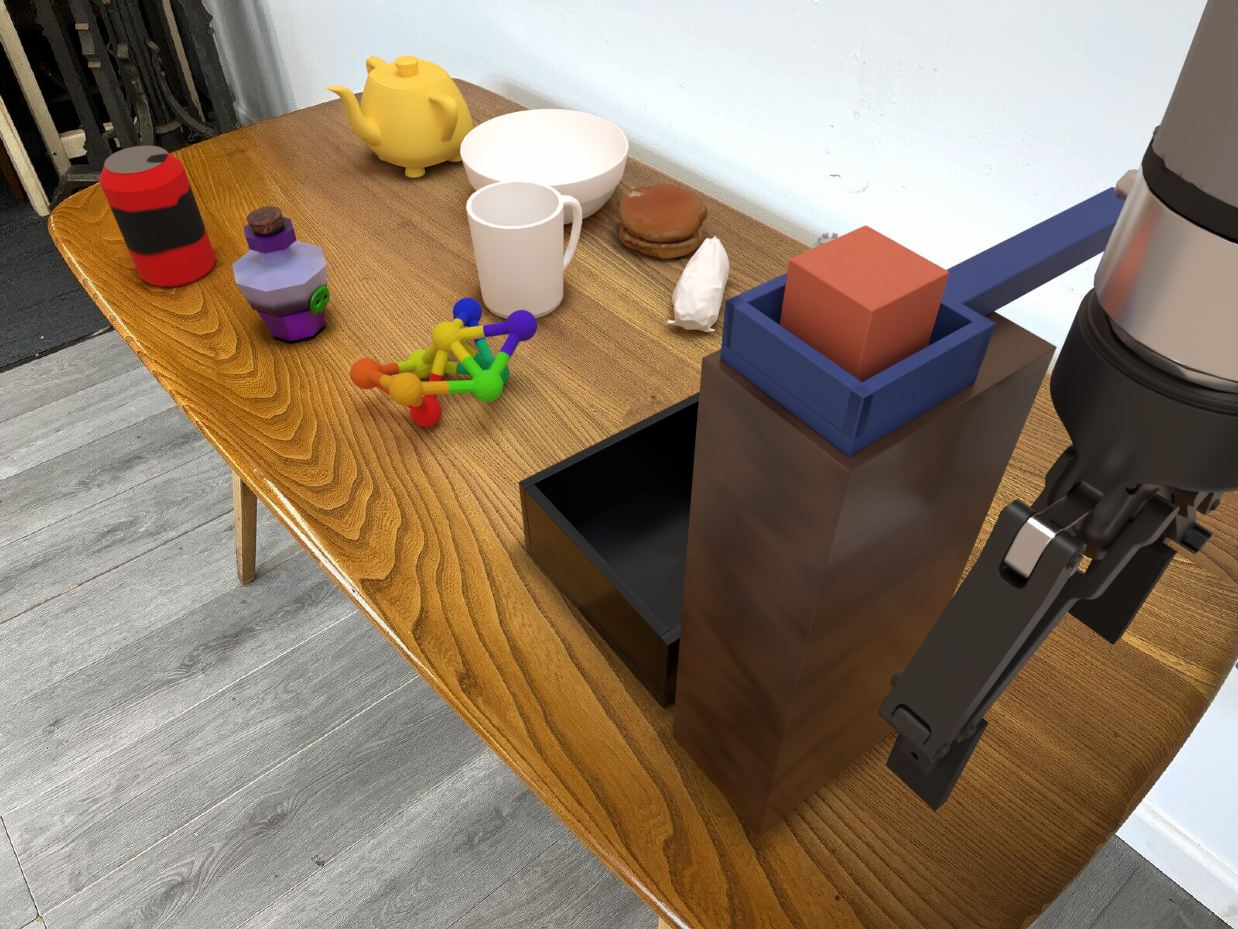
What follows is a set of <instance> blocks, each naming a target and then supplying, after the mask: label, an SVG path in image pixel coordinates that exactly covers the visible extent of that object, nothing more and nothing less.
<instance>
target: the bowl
mask: <svg viewBox="0 0 1238 929" xmlns="http://www.w3.org/2000/svg"><path fill="white" fill-rule="evenodd" d="M629 151H630V144H629V139H628V137H627V135H626V134H625V132H624V131H623V129H621V128H620V127H619V126H618V125H617V124H615V123H613V122H611V121H610V120H608V119H607V118H603V117H601V116H598V115H596V114H592V113H588V112H584V111H579V110H573V109H572V110H571V109H561V108H535V109H526V110H520V111H515V112H510V113H505V114H502V115H499V116H497V117H493V118H490V119H488V120H487V121H483V122H482V123H480V124H479V125H477V126H475V127H473V130H471V131H470V132H469V133H468V134H467V135H466V136H465V138H464V140H463V142H462V143H461V150H460V155H461V158H462V160H461V161H462V163H463V164H462V165H463V167H464V170H465V172H466V176H467V179H468V181H469V184H470V185H471V186H472V188H473V189H474V190H475V192H476V191H477V190H479V189H481V188H483V187H485V186H487V185H490V184H494V183H497V182H502V181H509V180H527V181H536V182H539V183H543V184H546V185H548V186H550V187H552V188H554V189H556V190H557V191H558V192H559V193H560V194H561V196H563V195H567V196H572V197H573V198H575V199H577V200H578V201H579V204H580V206H581V208H582V220H584V219H587V218H589V217H590V216H593V215H594V214H596V213H597V212H598V211H599V210H601V209H602V208H603V206H604V205H605V204H606V203H607V202H608V201H609V200H610V199H611V197H612V196H613V195H614V193H615V191H616V189H617V188H616V187H617V186H618V185H619V183H620V182H621V180H623V178H624V174H625V169H626V164H627V160H628V155H629ZM568 224H573V210H572V207H570V206H569V205H564V220H563V225H568Z"/></svg>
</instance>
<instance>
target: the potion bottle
mask: <svg viewBox="0 0 1238 929" xmlns="http://www.w3.org/2000/svg"><path fill="white" fill-rule="evenodd" d="M245 219H246V221H247V224H246V225H245V226H243V233H244V237H245V241H246V243H247V246H248V249H249V250H248V251H247V252H246V253H245V254H243V255H242V256H241V257H239V258H238V259H237V260H236V261H234V262H233V263H232V264H231V268H232V271H233V277H234V281H235V285H236V286H237V288H238V289H239V291H240V292H241V294H242V295H243V297H244V298H245V300H246V302H247V303H248V305H249V306H250V308H251V309H252V311H256V312H257V313H258V315H259V317H260V318H261V319H262V321H263V323H264V324H265V326H266V328H267V329H268V331H269V334H270V337H271V340H275V341H277V342H281V343H285V344H289V345H293V344H298V343H302V342H306V341H310V340H311V341H312V340H315V339H316V338H317V337H318V336H319V335H320V334H321V333H322V332H323V331H324V330H325V329H326V328H328V324H327V323H328V322H327V320H326V309H327V306H328V304H329V303H330V296H331V294H330V289H329V287H328V263H327V260H326V258H325V254H324V251H323V248H322V246H320V245H316V244H312V243H309V242H303V241H300V240H298V239H297V236H296V233H295V232H296V231H295V228H294V225H293V221H292V218H290V217H285V216H283V213H282V209H281V208H280V207H279V206H273V205H267V206H266V205H264V206H261V207H258V208H255V209H254V210H252V211H251V212H250V213H248V214H247V216H246V218H245Z"/></svg>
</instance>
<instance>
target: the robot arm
mask: <svg viewBox="0 0 1238 929" xmlns="http://www.w3.org/2000/svg"><path fill="white" fill-rule="evenodd" d="M1114 188H1115V190H1114V192H1115V194H1116V196H1117V198H1119V199H1121V200H1123V201H1125V203H1124V206H1123V208H1122V211H1121V213H1120V215H1119V218H1118V220H1117V223H1116V225H1115V227H1114V229H1113V231H1112V234H1111V236H1110V239H1109V241H1108V243H1107V246H1106V248H1105V251H1104V252H1102V256H1101V258H1100V260H1099V262H1098V265H1097V267H1096V270H1095V273H1094V276H1093V284H1092V285H1093V287H1092V288H1091V289H1089V291H1087V293H1085V295H1084V296H1083V298H1082V300H1081V301H1080V304H1079V306H1078V309H1077V311H1076V313H1075V315H1074V317H1073V320H1072V323H1071V325H1070V328H1069V329H1068V332H1067V335H1066V337H1065V339H1064V342H1063V344H1062V347H1061V349H1060V351H1059V353H1058V356H1057V358H1056V361H1055V364H1054V365H1053V369H1052V371H1051V374H1050V379H1049V395H1050V399H1051V402H1052V406H1053V408H1054V410H1055V413H1056V415H1057V416H1058V418H1059V419H1060V421H1061V423H1062V425H1063V427H1064V429H1065V430H1066V432H1067V435H1068V436H1069V439H1070V441H1071V444H1070V445H1068V447H1066V448H1065V449H1064V451H1062V453H1061V454H1060V455H1059V457H1058V458H1057V459H1056V460H1055V461H1054V463H1053V464H1052V465H1051V467H1050V468H1049V469H1048V471H1047V472H1046V474H1045V477H1044V487H1043V490H1042V491H1041V492H1040V493H1039V495H1038V496H1037V497H1036V499H1035V500H1034V501H1033V503H1032V504H1031V505H1028V504H1027V503H1025V502H1024V501H1022V500H1021V499H1020V498H1016V499H1014V500H1012V501H1011V502H1010V503H1009V504H1008V505H1005V506H1004V507H1002V509H1001V511H1000V512H999V514H998V516H997V517H998V518H997V520H996V521H995V523H994V525H993V528H992V530H991V532H990V534H989V536H988V538H987V539H986V542H985V544H984V546H983V548H982V550H981V551H980V552H981V553H980V554H979V556H978V558H977V559H976V561H975V562H974V564H973V566H972V567H971V568H970V570H969V572H968V573H967V574H966V576H965V577H964V579H963V580H962V583H961V584H960V586H959V587H957V588H958V589H956V590H955V593H954V595H953V597H952V599H951V601H950V602H949V604H948V605H947V607H946V608H945V610H944V611H943V613H942V614H941V616H940V617H939V619H938V620H937V622H936V623H935V625H934V626H933V628H932V629H931V631H930V632H929V634H928V636H927V637H926V639H925V640H924V642H923V643H922V645H921V646H920V648H919V649H918V651H917V652H916V654H915V655H914V657H913V658H912V660H911V661H910V663H909V664H908V666H907V667H906V669H905V671H904V672H898V673H895V674H894V675H893V677H892V679H891V681H890V683H891V684H892V685H893V686H894V687H893V689H892V690H891V692H890V693H889V695H888V696H887V697H885V699H884V700H883V701H882V705H881V707H880V708H879V711H878V714H879V715H880V716H881V717H882V718H883V719H884V720H885V721H887V722H888V723H889V724H890V725H891V726H892V727H893V728H894V729H895V730H894V731H896V732H897V733H898V734H897V736H896V738H895V741H894V742H893V746H892V748H891V750H890V753H889V755H888V757H887V760H886V762H885V767H887V768H888V769H889V770H890V771H891V773H893V775H895V776H896V777H897V778H898V779H899V780H900V781H901V782H902V783H904V784H905V786H907V787H908V788H909V789H910V790H911V791H912V792H913V793H914V794H915V795H916V796H917V797H918V798H919V799H920V800H921V801H922V802H924V804H926V805H927V806H928V808H930V809H931V810H932V811H933V812H934V813H936V812H937V811H939V809H940V808H942V806H943V805H944V804H945V803H947V801H948V799H949V797H950V795H951V794H952V792H953V790H954V788H955V787H956V784H957V782H958V781H959V779H960V777H961V775H962V774H963V772H964V770H965V768H966V767H967V765H968V762H969V760H970V758H971V757H972V755H973V753H974V751H975V749H976V747H977V745H978V744H979V743H980V740H981V738H982V736H983V735H984V733H985V731H986V729H987V727H988V726H989V721H987V720H986V719H985V718H984V716H985V715H986V714H987V713H988V712H989V710H990V709H991V708H992V707H993V705H994V704H996V702H997V701H998V699H999V698H1000V697H1001V696H1002V694H1003V693H1004V692H1005V691H1006V689H1007V688H1008V687H1009V686H1010V684H1011V683H1012V682H1013V681H1014V679H1015V678H1016V677H1017V676H1018V675H1019V673H1020V672H1021V670H1022V669H1023V668H1024V667H1025V666H1026V665H1027V663H1028V662H1029V661H1030V659H1031V658H1032V657H1033V656H1034V655H1035V653H1036V652H1037V651H1038V649H1039V648H1040V647H1041V646H1042V644H1044V642H1045V641H1046V639H1047V638H1048V637H1049V636H1050V634H1051V633H1052V632H1053V631H1054V630H1055V628H1056V627H1057V626H1058V625H1059V623H1060V622H1061V621H1062V620H1063V619H1064V617H1065V616H1066V615H1067V613H1068V614H1069V615H1071V616H1072V617H1073V618H1075V619H1076V620H1077V621H1079V622H1080V623H1082V624H1083V625H1085V626H1086V627H1087V628H1089V629H1090V630H1092V631H1093V632H1094V633H1095V634H1097V635H1098V636H1099V637H1101V638H1102V639H1104V640H1105V641H1106V642H1108V643H1109V644H1110V645H1113V646H1114V645H1115V644H1116V643H1117V642H1118V641H1119V640H1120V639H1121V638H1123V636H1124V634H1125V632H1126V631H1127V630H1128V628H1129V627H1130V625H1131V624H1132V622H1133V621H1134V619H1135V617H1136V616H1137V614H1138V613H1139V612H1140V610H1141V608H1142V607H1143V605H1144V604H1145V602H1146V601H1147V599H1148V598H1149V596H1150V595H1151V593H1152V592H1153V590H1154V588H1155V587H1156V585H1157V584H1158V583H1159V581H1160V580H1161V578H1162V577H1163V575H1164V573H1165V571H1166V570H1167V569H1168V567H1169V565H1170V564H1171V562H1172V561H1173V560H1174V558H1175V556H1176V555H1177V553H1178V550H1176V549H1174V548H1173V547H1171V546H1169V543H1170V542H1171V541H1172V542H1173V543H1175V544H1177V545H1179V547H1182V548H1184V549H1185V550H1187V551H1188V552H1190V553H1191V554H1193V555H1197V554H1198V553H1199V552H1200V551H1201V550H1202V549H1203V548H1204V547H1205V546H1206V545H1207V543H1208V542H1209V541H1210V540H1211V538H1212V536H1213V534H1214V532H1213V531H1211V530H1209V529H1208V528H1206V527H1205V526H1203V525H1201V524H1199V523H1197V516H1198V515H1197V512H1198V513H1199V514H1201V515H1203V516H1208V514H1210V513H1211V512H1215V511H1216V510H1217V509H1218V508H1219V506H1220V505H1221V504H1222V502H1221V499H1222V498H1223V496H1224V494H1225V493H1232V492H1238V0H1207V1H1206V3H1205V6H1204V9H1203V11H1202V14H1201V16H1200V19H1199V22H1198V25H1197V26H1196V30H1195V33H1194V35H1193V38H1192V41H1191V44H1190V46H1189V49H1188V51H1187V54H1186V57H1185V60H1184V61H1183V64H1182V67H1181V70H1180V73H1179V75H1178V77H1177V81H1176V82H1175V86H1174V88H1173V90H1172V94H1171V97H1170V99H1169V102H1168V104H1167V107H1166V109H1165V111H1164V113H1163V117H1162V118H1161V121H1160V124H1159V125H1157V126H1155V127H1154V129H1153V131H1152V137H1151V139H1150V140H1149V143H1148V145H1147V148H1146V150H1145V152H1144V154H1143V156H1142V159H1141V162H1140V164H1139V166H1138V169H1136V168H1133V169H1128V170H1127V171H1126V172H1125V173H1124V174H1123V175H1122V176H1121V177H1120V178H1119V179H1118V180H1116V183H1115V187H1114ZM1084 557H1086V558H1088V559H1090V560H1091V561H1090V562H1089V564H1088V566H1087V567H1086V569H1085V571H1082V570H1081V569H1079V568H1080V564H1081V562H1083V560H1084Z"/></svg>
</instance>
